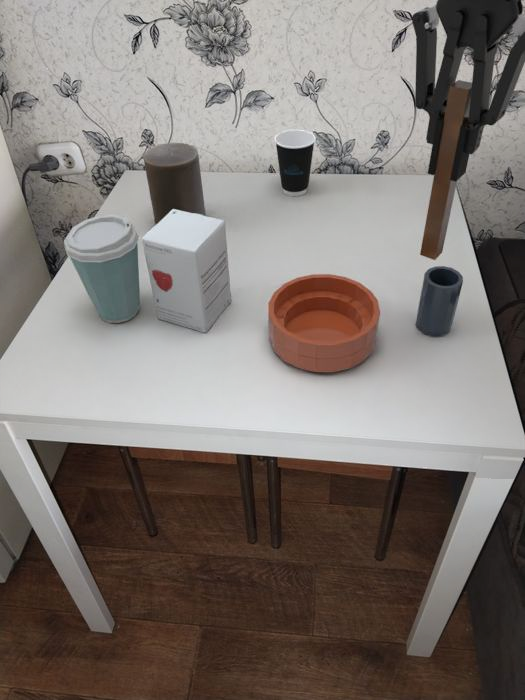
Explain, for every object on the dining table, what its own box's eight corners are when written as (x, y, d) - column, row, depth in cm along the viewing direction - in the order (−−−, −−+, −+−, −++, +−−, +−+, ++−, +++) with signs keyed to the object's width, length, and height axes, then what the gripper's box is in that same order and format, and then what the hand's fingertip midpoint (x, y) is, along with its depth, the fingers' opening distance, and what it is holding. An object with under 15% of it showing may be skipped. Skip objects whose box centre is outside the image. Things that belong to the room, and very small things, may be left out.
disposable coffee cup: (83, 336, 90) (56, 253, 79) (87, 293, 97) (63, 213, 87) (153, 327, 91) (135, 244, 80) (152, 285, 98) (135, 205, 88)
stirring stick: (442, 252, 79) (477, 83, 64) (434, 260, 78) (468, 89, 63) (427, 247, 80) (458, 79, 65) (419, 254, 79) (449, 85, 64)
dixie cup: (302, 177, 124) (302, 125, 116) (321, 193, 118) (323, 140, 111) (268, 187, 121) (266, 134, 114) (287, 204, 116) (286, 150, 108)
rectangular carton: (155, 319, 92) (138, 237, 82) (185, 287, 98) (172, 206, 87) (206, 334, 89) (195, 251, 79) (233, 300, 95) (226, 218, 84)
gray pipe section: (457, 322, 89) (469, 274, 83) (441, 342, 86) (453, 293, 80) (425, 309, 91) (435, 261, 85) (409, 328, 88) (418, 280, 82)
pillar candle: (173, 242, 108) (160, 164, 97) (146, 220, 113) (131, 145, 103) (216, 223, 112) (208, 147, 101) (188, 203, 117) (178, 129, 107)
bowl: (394, 329, 88) (399, 298, 84) (338, 392, 79) (341, 361, 75) (308, 292, 95) (309, 262, 91) (248, 346, 87) (246, 315, 82)
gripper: (399, -61, 56) (375, 168, 73) (561, -47, 49) (495, 204, 66) (434, -74, 61) (404, 146, 77) (589, -62, 54) (520, 177, 70)
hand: (446, 172), depth 71 cm, fingers closed on stirring stick, 2 cm apart
